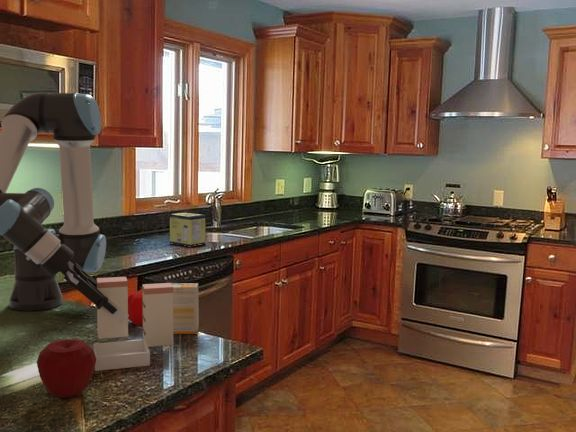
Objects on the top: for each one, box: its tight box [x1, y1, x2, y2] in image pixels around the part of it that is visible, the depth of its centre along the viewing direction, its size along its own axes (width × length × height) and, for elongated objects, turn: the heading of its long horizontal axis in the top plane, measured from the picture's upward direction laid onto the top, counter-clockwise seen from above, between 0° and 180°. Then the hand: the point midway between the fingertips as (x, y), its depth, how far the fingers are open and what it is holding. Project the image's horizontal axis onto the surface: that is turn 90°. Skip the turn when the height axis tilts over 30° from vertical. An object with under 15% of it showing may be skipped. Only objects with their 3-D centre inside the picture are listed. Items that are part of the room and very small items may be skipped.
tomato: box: [128, 286, 143, 327], centre depth 163 cm, size 11×13×10 cm
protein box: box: [169, 212, 206, 246], centre depth 292 cm, size 10×16×16 cm
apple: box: [36, 338, 96, 399], centre depth 115 cm, size 11×11×12 cm
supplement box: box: [170, 282, 200, 335], centre depth 156 cm, size 8×5×13 cm, turn 92°
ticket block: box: [141, 282, 174, 348], centre depth 147 cm, size 5×7×15 cm, turn 110°
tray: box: [93, 338, 151, 372], centre depth 135 cm, size 10×12×3 cm
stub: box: [96, 276, 129, 340], centre depth 143 cm, size 4×7×14 cm, turn 110°
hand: (123, 316), depth 144 cm, fingers closed on stub, 4 cm apart
